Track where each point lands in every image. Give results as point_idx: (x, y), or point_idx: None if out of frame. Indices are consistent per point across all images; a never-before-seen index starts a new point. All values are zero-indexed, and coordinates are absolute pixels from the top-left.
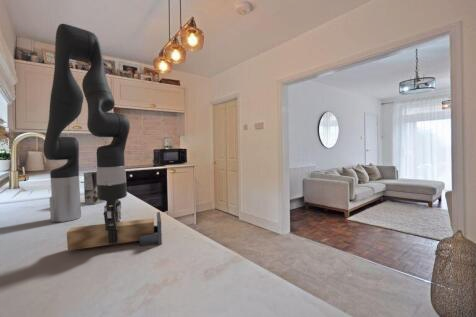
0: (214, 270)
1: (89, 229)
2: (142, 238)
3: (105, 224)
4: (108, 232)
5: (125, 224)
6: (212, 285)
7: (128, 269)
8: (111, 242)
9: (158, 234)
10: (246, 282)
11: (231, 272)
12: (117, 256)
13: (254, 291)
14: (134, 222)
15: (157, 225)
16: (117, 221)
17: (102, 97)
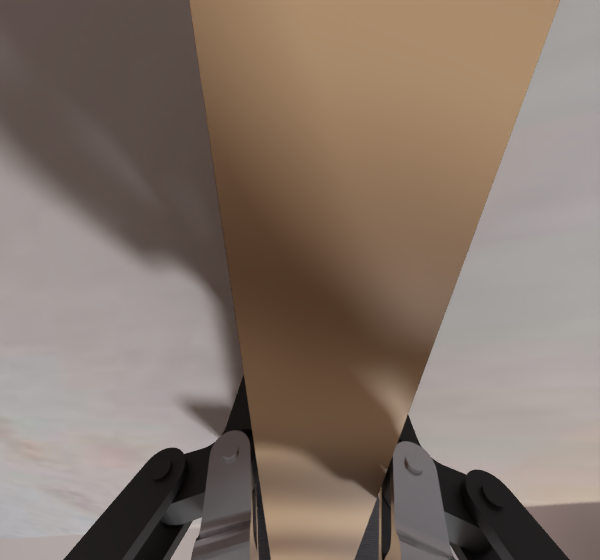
0: (80, 501)
1: (245, 339)
2: None
3: (78, 545)
4: (247, 415)
5: (287, 516)
6: (24, 490)
7: (75, 390)
8: None
9: None
10: (42, 516)
11: (74, 513)
12: (179, 361)
13: (17, 515)
14: (309, 541)
15: (268, 551)
16: (385, 501)
17: None
